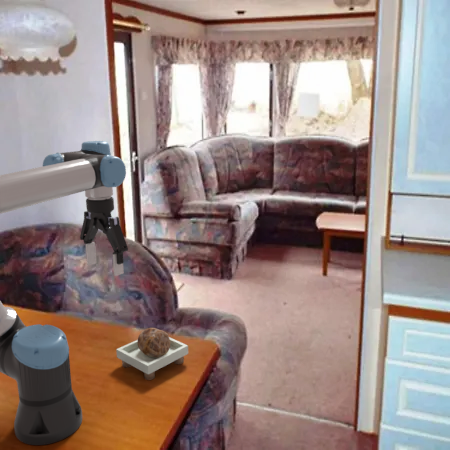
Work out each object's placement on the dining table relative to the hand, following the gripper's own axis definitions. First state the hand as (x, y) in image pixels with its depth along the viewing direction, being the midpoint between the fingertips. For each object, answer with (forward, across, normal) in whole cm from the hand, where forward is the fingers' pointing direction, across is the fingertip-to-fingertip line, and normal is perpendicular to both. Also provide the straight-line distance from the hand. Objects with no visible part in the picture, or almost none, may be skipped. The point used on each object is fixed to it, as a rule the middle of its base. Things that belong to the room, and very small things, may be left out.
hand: (105, 269), depth 145 cm
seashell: (+24, -14, -6) cm, 28 cm away
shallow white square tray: (+27, -14, -4) cm, 31 cm away
